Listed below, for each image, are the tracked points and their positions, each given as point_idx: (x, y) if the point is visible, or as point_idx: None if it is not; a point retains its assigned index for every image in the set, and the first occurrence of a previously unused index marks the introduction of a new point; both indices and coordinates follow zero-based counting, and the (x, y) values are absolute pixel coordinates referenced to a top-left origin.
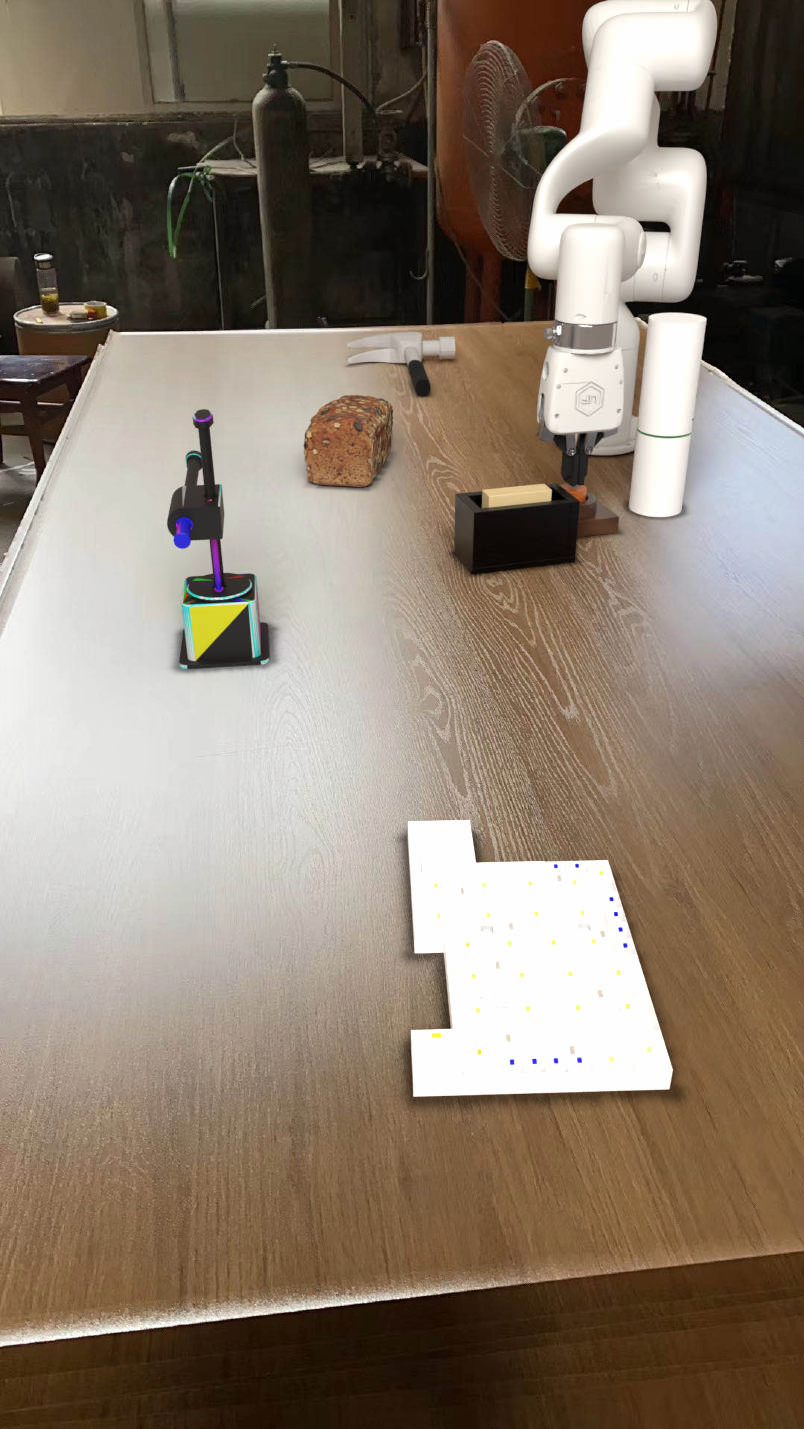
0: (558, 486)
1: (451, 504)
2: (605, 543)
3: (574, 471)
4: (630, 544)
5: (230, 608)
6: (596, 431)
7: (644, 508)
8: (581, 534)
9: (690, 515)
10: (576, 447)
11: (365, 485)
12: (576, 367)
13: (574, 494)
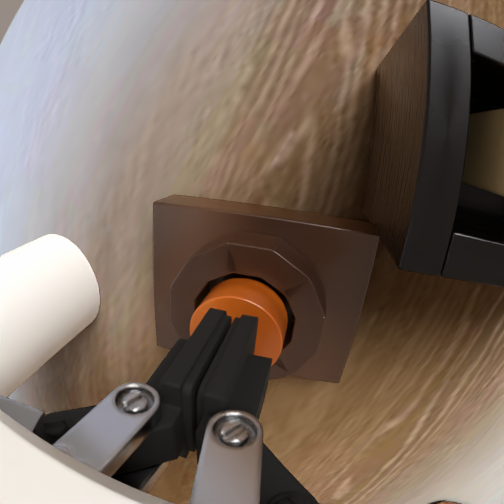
0: (424, 224)
1: (398, 451)
2: (235, 143)
3: (241, 349)
4: (181, 116)
5: None
6: (42, 443)
7: (78, 266)
8: (271, 207)
9: (29, 224)
10: (177, 450)
11: (442, 502)
12: None
13: (253, 298)
